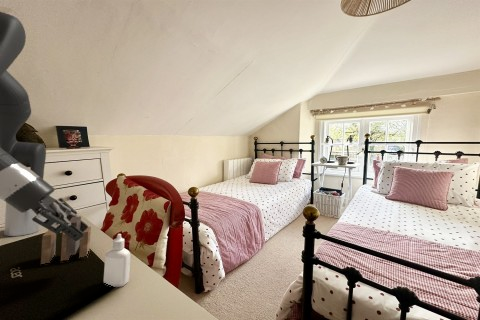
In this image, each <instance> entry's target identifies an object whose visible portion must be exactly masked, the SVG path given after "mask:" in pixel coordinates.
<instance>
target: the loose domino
mask: <svg viewBox="0 0 480 320" xmlns="http://www.w3.org/2000/svg"><path fill="white" fill-rule="evenodd" d="M81 221H82V216H78V217H72V218H71V220H70V222H71V224H73V225H74V226H75V227H77V228H78V229H79V230H80V227H81ZM78 249H80V239H79V240H78V241H75V240H73V239H72V238H70V237H69V236H68V235H67V241H66V256H68V255H72V256H73V255H76V253H77V252H78Z"/></svg>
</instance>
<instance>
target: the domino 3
mask: <svg viewBox="0 0 480 320" xmlns="http://www.w3.org/2000/svg"><path fill="white" fill-rule="evenodd" d="M91 230H92V227H91V226H88V228H87V229H86V230H85V231H84V232H83V233H84V235H83V237H81V238H80V244H79V256H78V259H79V258H80V257H84V256H87V254H88V251H89V252H90V245H91ZM88 255H89V254H88ZM87 257H88V256H87Z"/></svg>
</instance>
